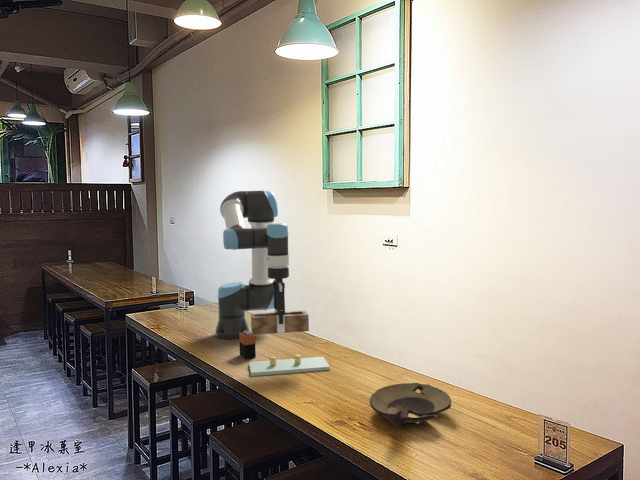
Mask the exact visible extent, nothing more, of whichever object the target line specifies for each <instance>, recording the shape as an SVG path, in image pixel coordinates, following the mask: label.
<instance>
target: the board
mask: <svg viewBox="0 0 640 480" xmlns="http://www.w3.org/2000/svg"><path fill="white" fill-rule="evenodd" d="M248 364H249V372H250V376H251V377H257V376H270V375H284V374H295V373H306V372H307V373H308V372H317V371H318V372H320V371H330V370H331V368H330V367H331V366H330V365H329V363H328V361H327V360H326V359H325V357H324V356H312V357H302V356H301V354H294V358H287V359H285V358H284V359H277V357H276V356H270V357H269V360H261V361H259V360H258V361H249V362H248Z"/></svg>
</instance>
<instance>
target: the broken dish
mask: <svg viewBox="0 0 640 480" xmlns="http://www.w3.org/2000/svg"><path fill="white" fill-rule="evenodd" d="M417 390H419V391H420V392H418V391H417ZM369 404H370V407H371V409H372V410H374V411H375V413H376V414H378V415H380V416H382V417H384V418H385V419H386V420H387V421H388V422H389V423H390V424H391V425H392V426H394V427H396V428H397V427H400V426H402V425H403V424H408V423H409V424H411V423H421V422H426V421H430V420H433V419H436V418H438V417H439V415H438V414H440V413H442V412H445V411H448V410H449V409H451V407H452V399H451V397H450V395H449V394H448V393H447V392H446V391H444V390H442V389H439V388H438V387H435V386H433V385H430V384H426V383H419V382H411V383H408V382H407V383H396V384H391V385H387V386H384V387H381V388H378V389H377V390H375V392H373V393H372V394H371V396H370V398H369ZM409 412H411V413H413V414H416V415H417V417H416V416H415V417H412V416H409V415H408V414H409Z"/></svg>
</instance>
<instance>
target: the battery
mask: <svg viewBox="0 0 640 480" xmlns="http://www.w3.org/2000/svg"><path fill="white" fill-rule="evenodd" d="M238 339H239V340H238V342H239V345H238V347H239V356H241V357H242V358H244V359H245V360H249V359H255V358H256V356H257V355H256V335H253V334H252V331H250V330H249V331H247V330H244V331H243V332H241V333H239V338H238Z"/></svg>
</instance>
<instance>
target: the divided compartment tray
mask: <svg viewBox="0 0 640 480" xmlns="http://www.w3.org/2000/svg"><path fill="white" fill-rule="evenodd" d="M275 313H277V312H260V313H250V322H251V324H250V326H251V328H250V329H251V333H252V334H253V335H255V336H256V335H259V336H260V335H271V334H272V335H273V334H278V333H277V315H275ZM309 320H310V319H309V313H308V312H307V311H306V310H295V311H294V310H292V311H285V334H286V333H301V332H303V333H304V332H309V331H310V327H309V326H310V324H309V322H310V321H309Z"/></svg>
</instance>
